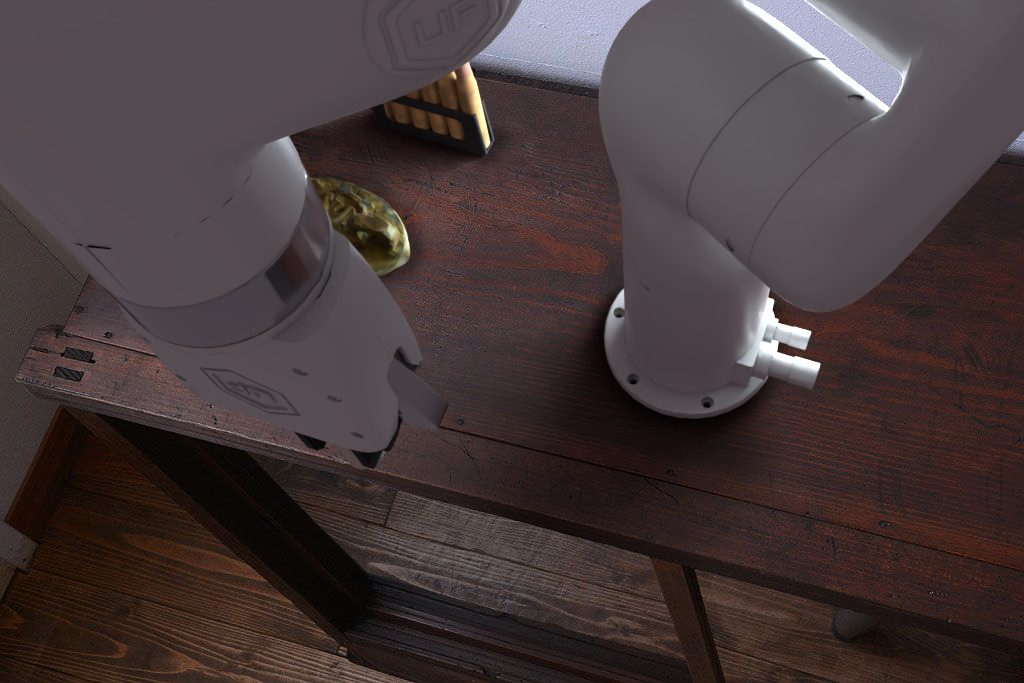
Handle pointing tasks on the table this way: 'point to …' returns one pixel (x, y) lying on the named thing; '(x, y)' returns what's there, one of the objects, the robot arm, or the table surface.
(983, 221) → the table surface
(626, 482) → the table surface
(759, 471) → the table surface
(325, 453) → the table surface
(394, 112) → the ammunition clip
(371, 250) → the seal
